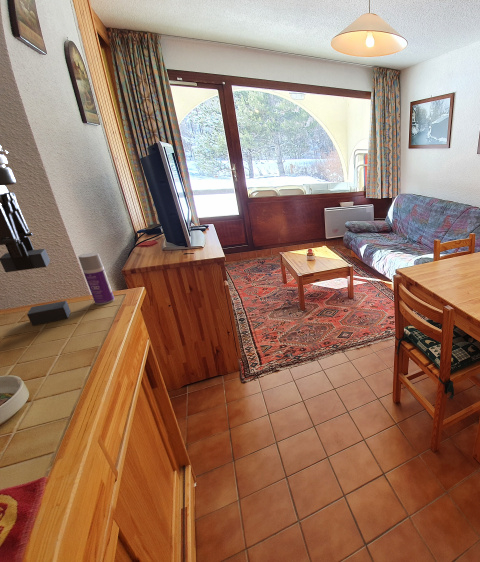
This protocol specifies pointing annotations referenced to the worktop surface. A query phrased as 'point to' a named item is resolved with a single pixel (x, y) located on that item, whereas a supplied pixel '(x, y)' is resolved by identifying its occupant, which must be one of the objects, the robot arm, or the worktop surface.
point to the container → (96, 278)
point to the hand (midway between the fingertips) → (28, 265)
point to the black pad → (49, 313)
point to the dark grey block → (36, 256)
